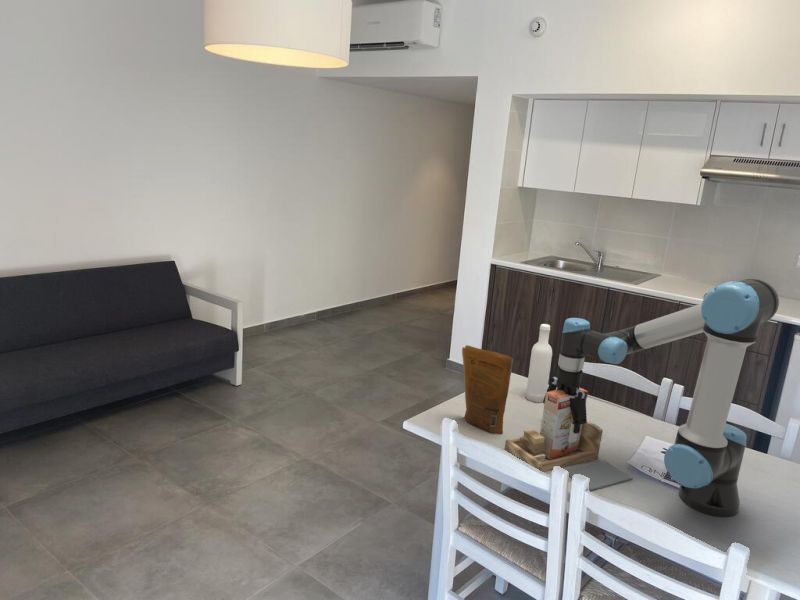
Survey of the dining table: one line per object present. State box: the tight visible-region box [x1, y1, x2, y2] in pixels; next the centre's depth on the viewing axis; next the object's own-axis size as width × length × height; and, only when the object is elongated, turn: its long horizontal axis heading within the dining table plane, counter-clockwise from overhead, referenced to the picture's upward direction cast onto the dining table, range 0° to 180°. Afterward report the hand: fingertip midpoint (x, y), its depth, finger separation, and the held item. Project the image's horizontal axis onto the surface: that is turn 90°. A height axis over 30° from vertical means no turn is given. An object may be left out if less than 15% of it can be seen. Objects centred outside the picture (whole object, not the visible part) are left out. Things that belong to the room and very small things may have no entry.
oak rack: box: [504, 420, 603, 473], centre depth 187 cm, size 16×24×10 cm, turn 118°
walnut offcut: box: [519, 435, 545, 456], centre depth 184 cm, size 7×4×3 cm, turn 29°
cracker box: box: [539, 387, 589, 461], centre depth 188 cm, size 14×6×21 cm, turn 126°
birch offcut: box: [519, 446, 546, 462], centre depth 185 cm, size 8×4×3 cm, turn 26°
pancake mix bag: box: [461, 344, 514, 435], centre depth 201 cm, size 7×19×28 cm, turn 46°
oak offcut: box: [522, 428, 545, 447], centre depth 183 cm, size 6×4×2 cm, turn 22°
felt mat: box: [566, 460, 634, 492], centre depth 177 cm, size 11×17×1 cm, turn 118°
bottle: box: [525, 323, 553, 404], centre depth 228 cm, size 8×8×30 cm
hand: (560, 434), depth 189 cm, fingers open, 10 cm apart
